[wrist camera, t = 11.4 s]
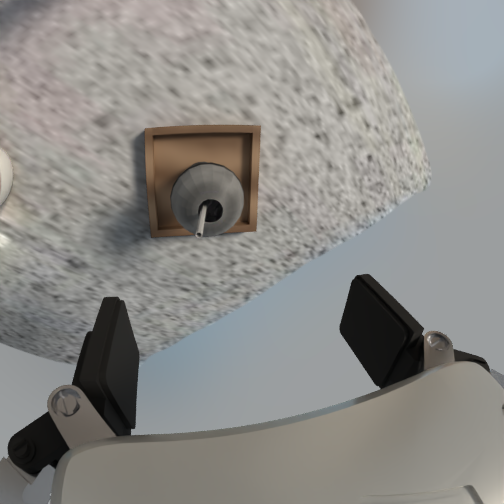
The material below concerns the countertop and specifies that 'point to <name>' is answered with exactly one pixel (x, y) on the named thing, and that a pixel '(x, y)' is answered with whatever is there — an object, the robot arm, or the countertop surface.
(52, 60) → the countertop surface
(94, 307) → the countertop surface
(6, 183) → the lidded jar
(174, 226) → the walnut tray
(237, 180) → the beverage cup
